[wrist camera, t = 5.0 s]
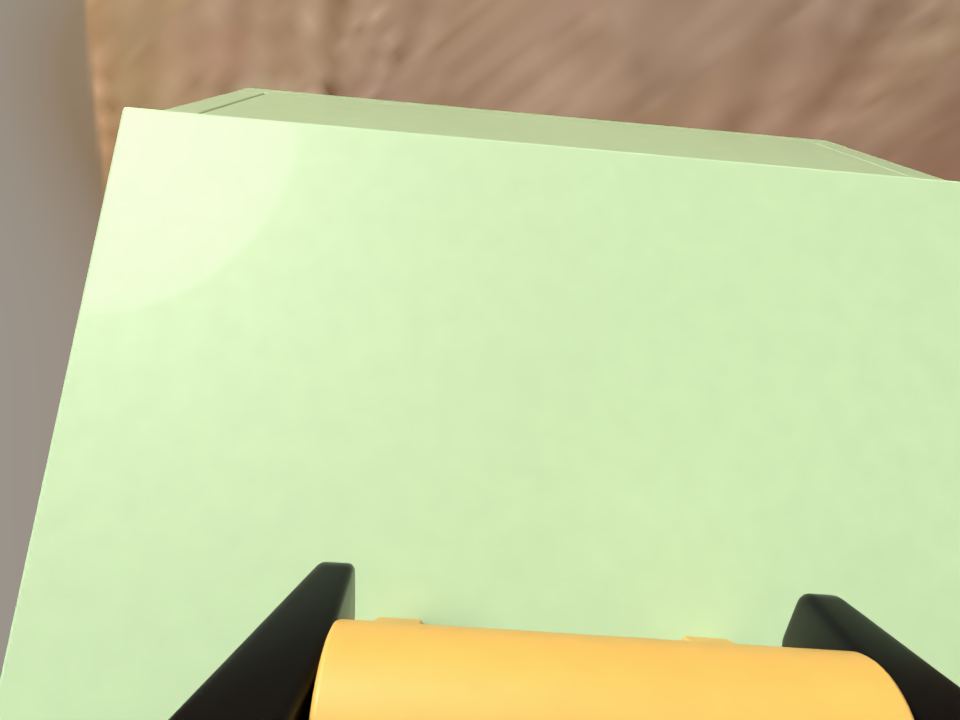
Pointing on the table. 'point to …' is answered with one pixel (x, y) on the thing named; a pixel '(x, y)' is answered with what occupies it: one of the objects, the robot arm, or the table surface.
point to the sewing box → (544, 130)
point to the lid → (497, 428)
